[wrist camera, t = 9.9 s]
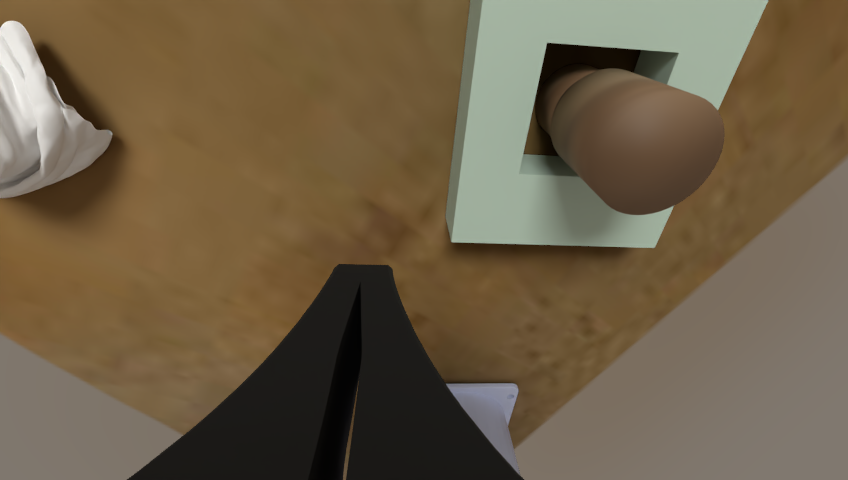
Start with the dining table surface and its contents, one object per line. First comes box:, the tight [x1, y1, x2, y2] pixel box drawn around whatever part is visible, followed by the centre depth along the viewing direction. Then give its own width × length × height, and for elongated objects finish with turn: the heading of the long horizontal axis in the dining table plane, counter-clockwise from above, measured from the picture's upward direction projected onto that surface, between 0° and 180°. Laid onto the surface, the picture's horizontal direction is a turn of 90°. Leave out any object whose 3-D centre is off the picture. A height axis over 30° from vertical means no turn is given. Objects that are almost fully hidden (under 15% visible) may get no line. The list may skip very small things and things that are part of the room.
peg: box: [535, 64, 724, 215], centre depth 15 cm, size 4×4×7 cm
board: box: [446, 0, 768, 248], centre depth 17 cm, size 12×10×2 cm
